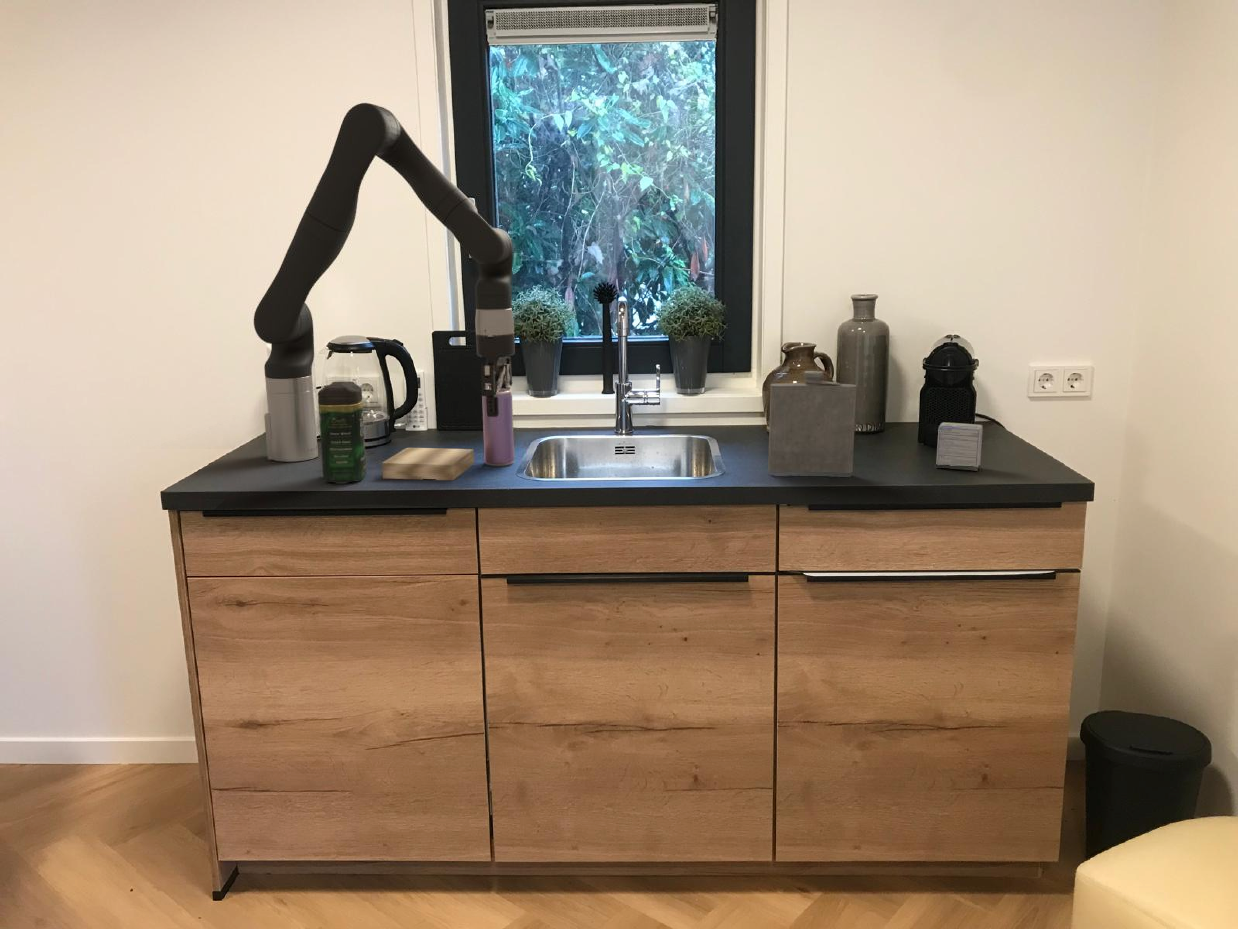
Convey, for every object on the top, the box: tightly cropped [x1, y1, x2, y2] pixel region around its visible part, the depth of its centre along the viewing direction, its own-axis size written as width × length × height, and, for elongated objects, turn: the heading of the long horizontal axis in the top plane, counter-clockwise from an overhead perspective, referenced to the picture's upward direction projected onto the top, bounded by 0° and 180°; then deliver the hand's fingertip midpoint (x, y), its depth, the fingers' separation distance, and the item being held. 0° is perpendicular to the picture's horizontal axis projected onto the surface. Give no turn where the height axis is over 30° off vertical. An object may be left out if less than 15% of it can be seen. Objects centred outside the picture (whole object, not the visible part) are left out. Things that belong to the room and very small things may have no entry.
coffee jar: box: [317, 381, 367, 484], centre depth 193 cm, size 10×8×19 cm
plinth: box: [381, 447, 475, 481], centre depth 200 cm, size 14×14×3 cm
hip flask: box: [767, 370, 857, 473], centre depth 194 cm, size 16×4×20 cm, turn 84°
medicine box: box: [935, 421, 984, 467], centre depth 199 cm, size 8×4×9 cm, turn 65°
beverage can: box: [481, 388, 515, 467], centre depth 205 cm, size 6×6×15 cm
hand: (498, 412), depth 204 cm, fingers open, 8 cm apart
